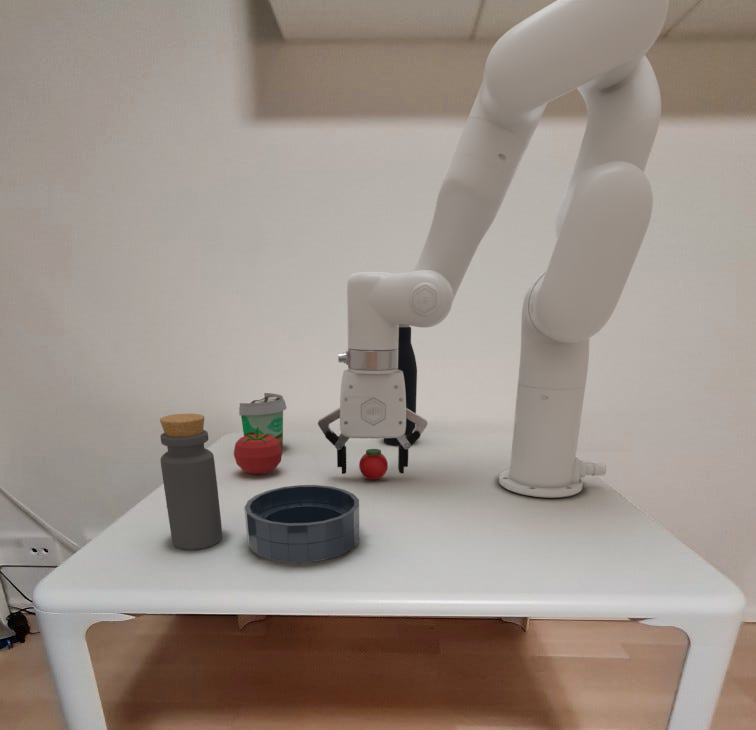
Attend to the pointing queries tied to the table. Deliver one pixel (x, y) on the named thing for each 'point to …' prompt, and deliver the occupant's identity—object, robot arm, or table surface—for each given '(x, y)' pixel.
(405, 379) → the black water bottle
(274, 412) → the food container
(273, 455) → the tomato
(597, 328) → the robot arm
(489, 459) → the table surface
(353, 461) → the table surface
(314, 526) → the bowl
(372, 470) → the cherry tomato
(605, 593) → the table surface
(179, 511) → the bottle
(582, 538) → the table surface
